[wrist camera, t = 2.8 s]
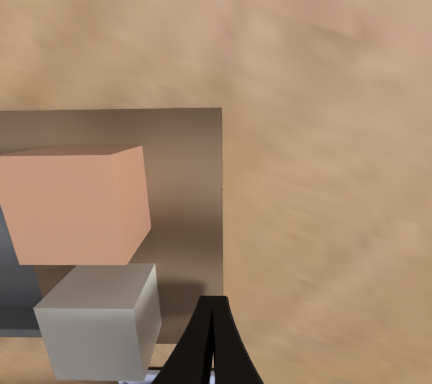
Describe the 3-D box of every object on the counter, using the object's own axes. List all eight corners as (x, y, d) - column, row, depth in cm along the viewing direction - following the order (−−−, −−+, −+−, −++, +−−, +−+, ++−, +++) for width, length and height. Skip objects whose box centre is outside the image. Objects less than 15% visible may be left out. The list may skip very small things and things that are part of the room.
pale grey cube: (161, 323, 13) (144, 381, 10) (92, 322, 13) (55, 379, 10) (154, 263, 12) (133, 309, 9) (79, 262, 12) (33, 308, 9)
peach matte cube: (151, 228, 11) (126, 265, 8) (71, 228, 11) (19, 264, 8) (142, 145, 10) (109, 155, 7) (52, 146, 10) (-15, 156, 7)
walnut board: (223, 310, 16) (223, 344, 13) (80, 308, 16) (56, 341, 14) (221, 110, 12) (221, 107, 9) (34, 113, 12) (-13, 111, 10)
